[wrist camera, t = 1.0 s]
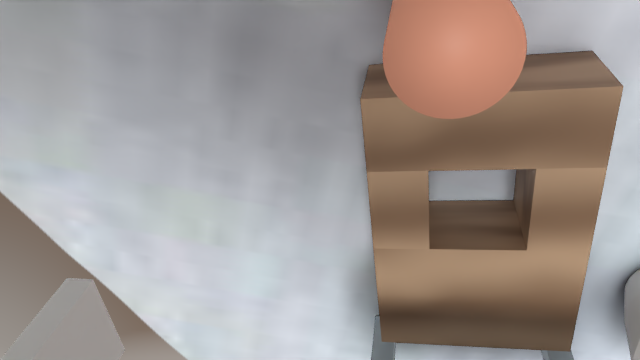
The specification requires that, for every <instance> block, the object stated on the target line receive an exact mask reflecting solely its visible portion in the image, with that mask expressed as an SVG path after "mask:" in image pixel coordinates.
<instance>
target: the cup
mask: <svg viewBox="0 0 640 360" xmlns="http://www.w3.org/2000/svg"><path fill="white" fill-rule="evenodd" d="M624 323H625V328H626V334H627V339H628V345H629V350H630V356H631V360H632V359H633V356H634V354H635V351H636V348H637V345H638V342H639V340H640V269H639V270H637V271H636V272H635V273H634V274H633V275H632V276H631V277H630V278H629V279H628V281H627V283H626V285H625V295H624Z"/></svg>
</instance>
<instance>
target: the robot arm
mask: <svg viewBox="0 0 640 360" xmlns="http://www.w3.org/2000/svg"><path fill="white" fill-rule="evenodd" d="M124 351H125V349H124V346H123V344H122V342H121V340H120V338H119V335H118V333H117V331H116V329H115V327H114V324H113V322H112V320H111V318H110V316H109V313H108V311H107V309H106V307H105V305H104V303H103V300H102V298H101V296H100V294H99V292H98V289H97V287H96V285H95V283H94V280H92V279H72V278H67V279H66V280H65V281H64V283H63V284H62V285H61V286H60V287H59V289H58V290H57V291H56V292H55V293H54V295H53V296H52V297H51V298H50V299H49V301H48V302H47V303H46V304H45V306H44V307H43V308H42V309H41V310H40V312H39V313H38V314H37V315H36V316H35V318H34V319H33V320H32V321H31V323H30V324H29V325H28V326H27V327H26V329H25V330H24V331H23V332H22V334H21V335H20V336H19V337H18V338H17V339H16V341H15V342H14V343H13V344H12V346H11V347H10V348H9V349H8V350H7V351H6V353H5V354H4V355H3V356H2V358H1V359H0V360H119V359H120V357H121V355H122V354H123V352H124ZM632 360H640V340H639V342H638V345H637V348H636V351H635V354H634V356H633V359H632Z"/></svg>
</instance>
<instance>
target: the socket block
mask: <svg viewBox="0 0 640 360" xmlns="http://www.w3.org/2000/svg"><path fill="white" fill-rule="evenodd" d="M622 91H623V85H622V84H621V83H620V82H619V81H618V80H617V78H616V77H615V76H614V75H613V74H612V73H611V72H610V70H609V69H608V68H607V67H606V66H605V65H604V63H603V62H602V61H601V60H600V59H599V58H598V57H597V55H596V54H595V53H594V52H593V51H582V52H566V53H550V54H534V55H526V57H525V62H524V65H523V69H522V71H521V73H520V75H519V78H518V79H517V81H516V82H515V84H514V86H513V87H512V88H511V89H510V91H509V92H508V93H507V94H506V95H505V96H504V97H503V98H502V99H501V100H500V101H498V102H497V103H496V104H494V105H493V106H491V107H490V108H488V109H486V110H484V111H482V112H480V113H478V114H475V115H472V116H469V117H464V118H458V119H440V118H434V117H430V116H426V115H423V114H421V113H418V112H417V111H415V110H413V109H411V108H410V107H408V106H407V105H406V104H404V103H403V102H402V101H401V100H400V99H399V98H398V97H397V95H396V94H395V93H394V92H393V90H392V88H391V87H390V85H389V83H388V80H387V78H386V75H385V71H384V67H383V64H374V65H369V67H368V71H367V75H366V78H365V82H364V86H363V90H362V94H361V98H360V102H361V113H362V124H363V136H364V147H365V158H366V170H367V181H368V192H369V204H370V215H371V226H372V238H373V249H374V260H375V272H376V283H377V294H378V306H379V317H380V329H381V340H382V342H394V343H414V344H433V345H452V346H472V347H491V348H510V349H530V350H549V351H568V352H570V349H571V344H572V340H573V335H574V330H575V325H576V320H577V315H578V310H579V305H580V300H581V295H582V290H583V285H584V280H585V275H586V270H587V265H588V260H589V255H590V250H591V245H592V240H593V235H594V230H595V225H596V220H597V215H598V210H599V205H600V200H601V195H602V190H603V185H604V180H605V175H606V170H607V165H608V160H609V155H610V150H611V145H612V140H613V135H614V130H615V125H616V120H617V115H618V111H619V106H620V101H621V96H622ZM505 169H516V180H515V191H514V200H510V201H429V182H428V171H450V170H505Z"/></svg>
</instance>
